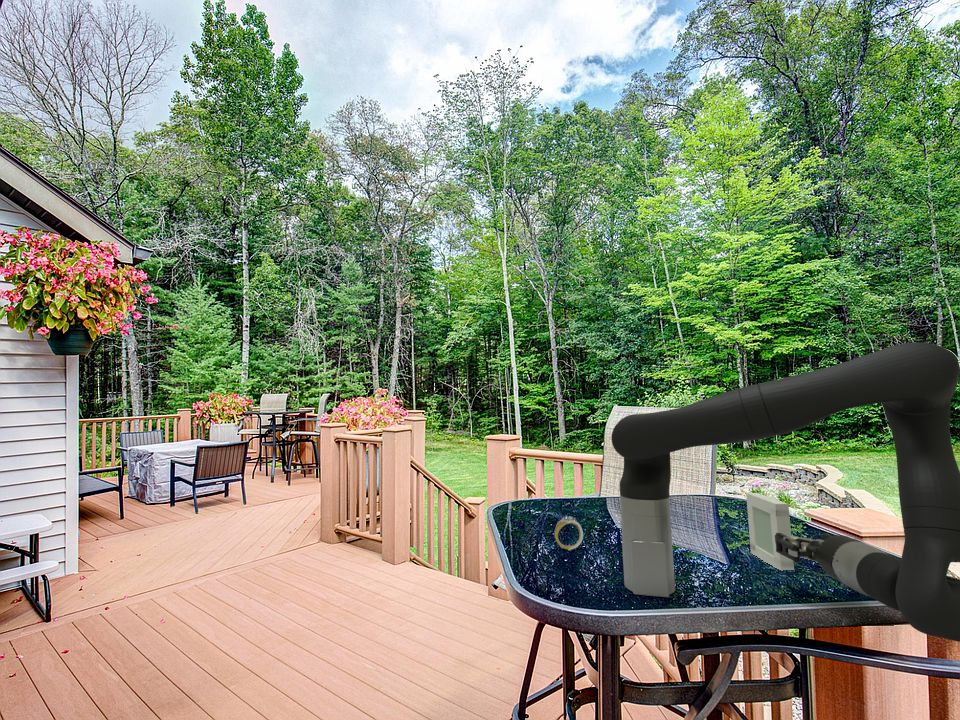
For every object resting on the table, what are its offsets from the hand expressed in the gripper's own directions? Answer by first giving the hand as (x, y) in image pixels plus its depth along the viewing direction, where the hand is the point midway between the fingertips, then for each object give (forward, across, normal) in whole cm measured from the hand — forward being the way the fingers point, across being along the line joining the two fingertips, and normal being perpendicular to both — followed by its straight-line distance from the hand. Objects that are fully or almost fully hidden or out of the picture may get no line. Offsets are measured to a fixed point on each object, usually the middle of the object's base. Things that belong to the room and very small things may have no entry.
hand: (800, 538), depth 90 cm
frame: (+12, 0, +9) cm, 15 cm away
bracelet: (+20, +44, +9) cm, 49 cm away
